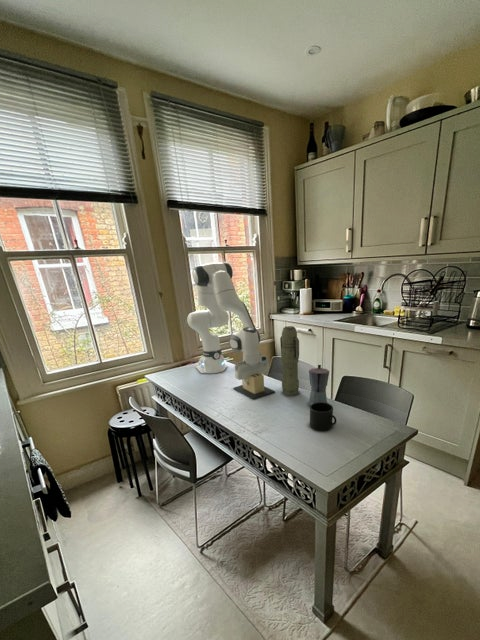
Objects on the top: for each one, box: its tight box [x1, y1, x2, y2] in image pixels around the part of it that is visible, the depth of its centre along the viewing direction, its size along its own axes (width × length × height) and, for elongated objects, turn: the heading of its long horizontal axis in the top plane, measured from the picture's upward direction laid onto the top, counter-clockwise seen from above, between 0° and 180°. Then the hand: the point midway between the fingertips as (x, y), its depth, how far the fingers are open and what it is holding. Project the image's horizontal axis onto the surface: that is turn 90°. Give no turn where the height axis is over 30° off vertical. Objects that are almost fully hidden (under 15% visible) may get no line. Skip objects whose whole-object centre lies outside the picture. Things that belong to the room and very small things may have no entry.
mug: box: [309, 402, 338, 432], centre depth 132 cm, size 9×12×9 cm
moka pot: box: [308, 364, 330, 406], centre depth 150 cm, size 10×15×20 cm, turn 174°
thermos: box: [279, 325, 300, 397], centre depth 162 cm, size 9×12×35 cm
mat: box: [233, 384, 276, 401], centre depth 174 cm, size 20×14×1 cm
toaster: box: [241, 374, 265, 394], centre depth 173 cm, size 13×6×9 cm, turn 37°
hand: (253, 383), depth 172 cm, fingers closed on toaster, 6 cm apart
